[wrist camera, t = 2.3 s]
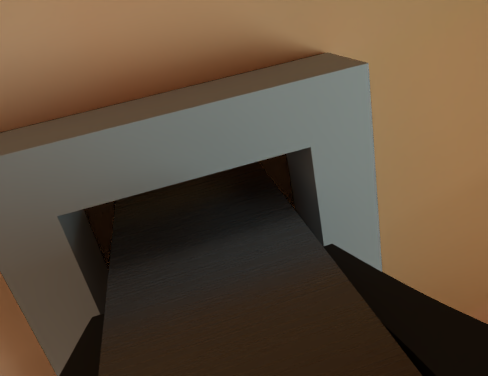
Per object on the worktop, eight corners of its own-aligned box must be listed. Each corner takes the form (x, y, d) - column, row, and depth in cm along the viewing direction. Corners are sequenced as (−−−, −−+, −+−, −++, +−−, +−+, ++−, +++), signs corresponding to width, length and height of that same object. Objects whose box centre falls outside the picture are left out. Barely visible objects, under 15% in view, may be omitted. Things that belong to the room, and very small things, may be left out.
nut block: (256, 160, 11) (484, 458, 4) (278, 272, 12) (470, 634, 5) (115, 197, 10) (74, 618, 3) (156, 310, 12) (188, 761, 5)
